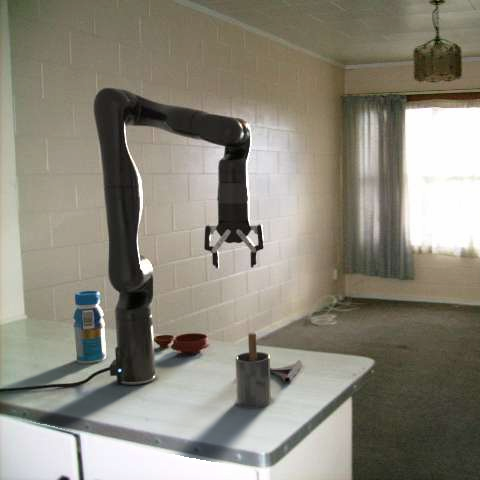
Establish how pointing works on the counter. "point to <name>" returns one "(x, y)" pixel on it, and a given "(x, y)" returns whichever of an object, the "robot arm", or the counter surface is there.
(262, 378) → the grey metal cup
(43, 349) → the counter surface
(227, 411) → the counter surface
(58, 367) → the counter surface
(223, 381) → the counter surface
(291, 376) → the bracket
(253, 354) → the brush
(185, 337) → the pottery
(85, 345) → the beverage bottle
